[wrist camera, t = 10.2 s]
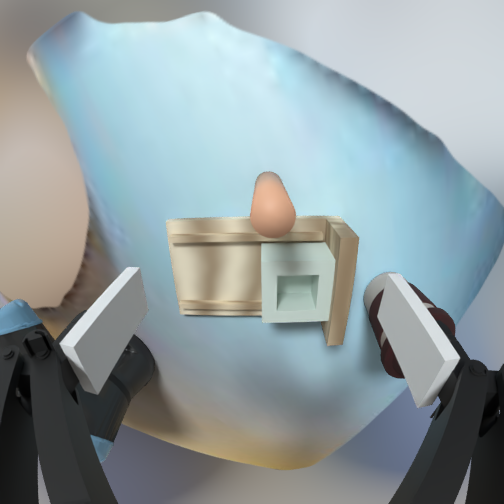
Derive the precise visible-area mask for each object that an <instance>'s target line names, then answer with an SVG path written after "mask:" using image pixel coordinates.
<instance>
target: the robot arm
mask: <svg viewBox="0 0 504 504" xmlns="http://www.w3.org/2000/svg"><path fill="white" fill-rule="evenodd" d="M148 310H149V309H148V305H147V301H146V296H145V291H144V287H143V282H142V277H141V271H140V268H138V267H127V268H126V269H125V270H124V271H123V273H122V274H121V275H120V276H119V277H118V278H117V279H116V280H115V281H114V282H113V283H112V284H111V285H110V286H109V287H108V288H107V290H106V291H105V292H104V293H103V294H102V295H101V296H100V297H99V298H98V299H97V300H96V302H95V303H94V304H93V305H92V306H91V307H90V308H89V309H88V311H87V310H85V311H83V312H81V313H80V314H78V315H77V316H76V317H75V318H74V319H73V320H72V321H71V323H70V324H69V325H68V326H67V328H66V329H65V330H64V331H63V332H62V333H61V334H60V335H59V337H58V338H57V339H56V340H54V338H53V337H52V336H51V334H50V333H49V332H48V330H47V329H46V328H45V326H44V325H43V324H42V322H43V321H42V320H41V319H39V318H38V317H37V315H36V314H35V313H34V311H33V310H32V309H31V307H30V306H29V305H28V303H27V302H25V301H24V300H21V299H17V300H14V301H12V302H10V303H8V304H7V305H5V306H4V307H2V308H0V504H39V502H38V501H39V500H38V455H39V460H40V465H41V470H42V474H43V478H44V482H45V485H46V489H47V493H48V496H49V499H50V503H51V504H118V502H117V500H116V498H115V496H114V494H113V492H112V490H111V488H110V485H109V483H108V481H107V478H106V476H105V474H104V471H103V469H102V466H101V464H100V463H101V462H103V461H104V460H105V459H106V458H107V456H108V454H109V452H110V450H111V448H112V446H114V440H115V438H116V435H117V432H118V430H119V427H120V425H121V423H122V420H123V418H124V415H125V413H126V410H127V408H128V405H129V403H130V401H131V399H132V398H133V397H134V396H135V395H136V394H137V393H138V392H139V391H140V390H141V389H142V388H143V387H144V386H145V385H146V384H147V383H148V382H149V381H150V379H151V376H152V374H153V371H154V360H153V357H152V355H151V353H150V351H149V350H148V348H147V347H146V346H145V345H144V343H143V342H142V341H141V340H140V339H139V338H137V337H136V336H135V335H134V333H135V331H136V329H137V328H138V326H139V325H140V323H141V321H142V320H143V318H144V317H145V315H146V313H147V312H148ZM377 317H378V319H379V321H380V324H381V326H382V328H383V330H384V332H385V334H386V336H387V338H388V340H389V343H390V345H391V347H392V349H393V351H394V353H395V356H396V358H397V360H398V362H399V365H400V367H401V369H402V372H403V374H404V376H405V379H406V381H407V384H408V386H409V388H410V391H411V393H412V396H413V398H414V401H415V403H416V406H417V408H420V407H425V406H428V405H432V404H433V402H434V401H435V399H436V398H437V396H438V397H439V399H440V401H441V403H440V404H439V406H438V407H437V408H436V410H435V411H434V413H433V414H432V415H431V417H430V418H433V420H432V422H431V425H430V427H429V429H428V432H427V434H426V436H425V439H424V441H423V443H422V445H421V447H420V449H419V451H418V453H417V455H416V457H415V459H414V461H413V463H412V465H411V467H410V469H409V471H408V472H407V474H406V476H405V478H404V479H403V481H402V483H401V485H400V486H399V488H398V490H397V491H396V493H395V494H394V496H393V498H392V499H391V501H390V502H389V504H454V502H455V500H456V497H457V495H458V493H459V490H460V488H461V485H462V483H463V480H464V477H465V475H466V472H467V469H468V466H469V463H470V460H471V470H470V477H469V484H468V491H467V496H466V502H465V504H504V364H503V365H502V367H501V369H500V370H499V371H491V370H488V369H487V367H486V366H485V365H484V364H483V363H482V362H480V361H477V360H470V358H469V357H468V355H467V354H466V352H465V351H464V349H463V348H462V346H461V345H460V343H459V342H458V341H457V339H456V337H455V336H454V335H453V333H452V332H451V330H450V329H449V328H448V326H447V325H445V324H444V323H443V322H441V321H440V320H436V321H435V319H434V318H433V317H432V315H431V314H430V312H429V311H428V310H427V308H426V307H425V305H424V304H423V303H422V301H421V300H420V299H419V297H418V296H417V295H416V293H415V292H414V291H413V290H412V288H411V287H410V286H409V284H408V283H407V282H406V280H405V279H404V278H403V277H402V275H401V274H388V275H387V280H386V284H385V288H384V292H383V296H382V300H381V304H380V308H379V312H378V315H377ZM499 410H500V415H499ZM433 416H434V417H433ZM471 457H472V459H471Z"/></svg>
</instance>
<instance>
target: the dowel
mask: <svg viewBox="0 0 504 504" xmlns="http://www.w3.org/2000/svg"><path fill="white" fill-rule="evenodd" d="M250 220H251V224H252V226H253V228H254V229H255V231H256V232H257V233H259V234H260V235H262V236H264V237H267V238H279V237H282V236H284V235H286V234H287V233H288V232H289V231H290V230H291V229H292V228H293V226H294V224H295V220H296V212H295V209H294V206H293V204H292V202H291V200H290V198H289V196H288V194H287V192H286V189H285V187H284V185H283V183H282V181H281V179H280V177H279V176H278V175H277V174H276V173H274V172H263V173H261V174H260V175H259V176H258V177H257V179H256V182H255V188H254V194H253V201H252V207H251V213H250Z"/></svg>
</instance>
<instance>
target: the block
mask: <svg viewBox="0 0 504 504" xmlns="http://www.w3.org/2000/svg"><path fill="white" fill-rule="evenodd" d="M335 261H336V260H335V258H334V257H333V255H332V253H331V251H330V250H329V248H328V246H327V244H326V243H325V242H304V243H261V284H262V323H285V322H315V321H328V320H329V313H330V305H331V297H332V289H333V280H334V271H335Z"/></svg>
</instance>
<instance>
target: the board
mask: <svg viewBox="0 0 504 504" xmlns="http://www.w3.org/2000/svg"><path fill="white" fill-rule="evenodd" d="M166 227H167V235H168V242H169V250H170V256H171V263H172V269H173V276H174V282H175V287H176V293H177V299H178V304H179V309H180V314H189V315H262V284H261V243H304V242H325V243H326V244H327V246H328V248H329V250H330V251H331V253H332V255H333V257H334V258H335V260H336V261H335V271H334V280H333V289H332V297H331V305H330V313H329V320H328V321H321V325H322V329H323V332H324V336H325V340H326V343H327V346H330V345H343V340H344V335H345V330H346V325H347V319H348V314H349V308H350V302H351V296H352V290H353V283H354V276H355V269H356V261H357V253H358V244H359V237H358V236H357V235H356V233H355V232H354V231H353V230H352V229H351V228H350V227H349V226H348V225H347V224H346V223H345V222H344V221H343V220H342V218H341V217H340V216H296V220H295V224H294V226H293V228H292V229H291V230H290V231H289V232H288V233H287V234H286V235H284V236H282V237H279V238H267V237H264V236H262V235H260V234H259V233H257V232H256V231H255V229H254V228H253V226H252V224H251V220H250V216H248V217H210V218H184V219H168V220H167V221H166Z"/></svg>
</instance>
